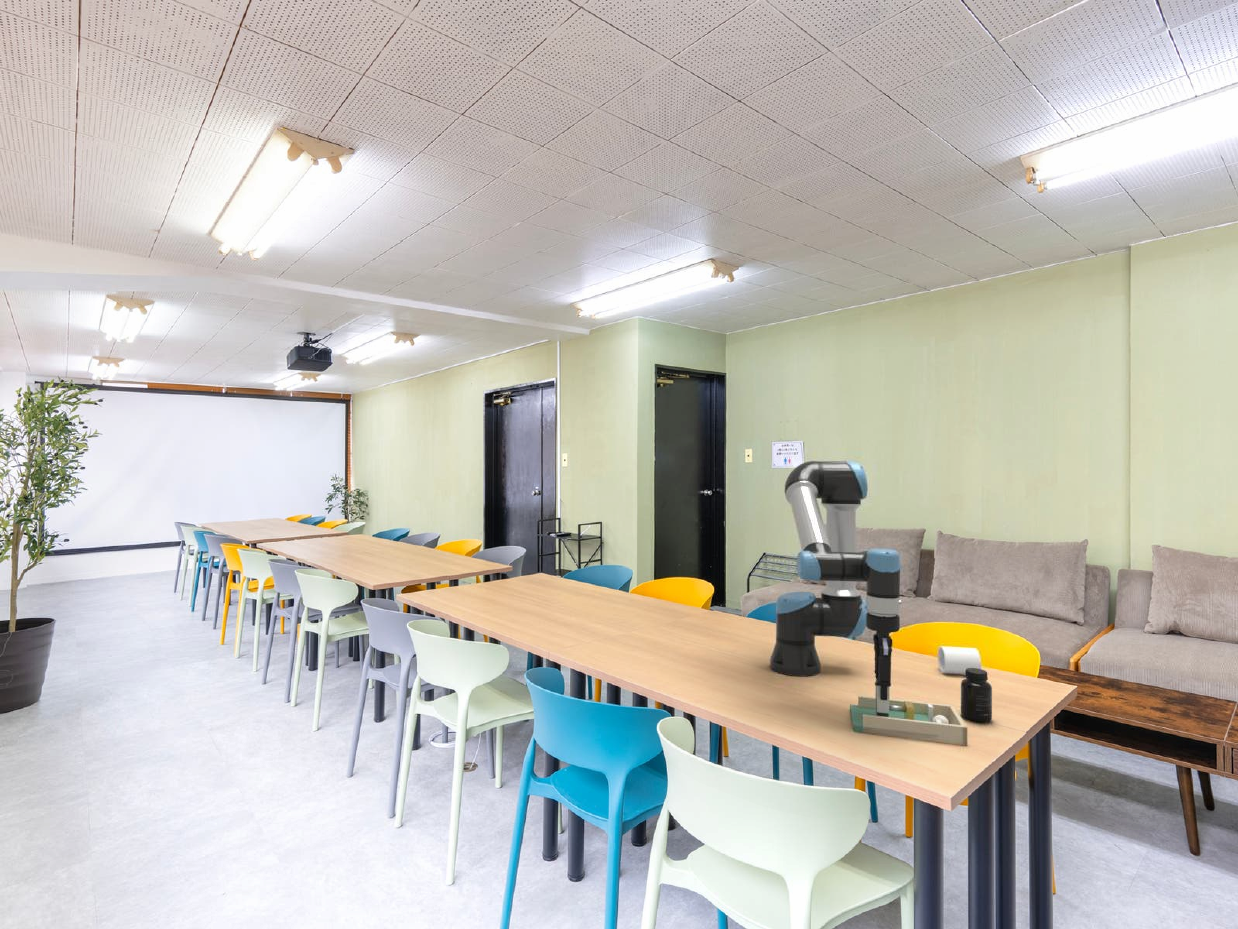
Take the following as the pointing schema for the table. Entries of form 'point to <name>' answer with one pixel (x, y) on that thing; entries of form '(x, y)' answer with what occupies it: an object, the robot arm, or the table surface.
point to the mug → (958, 659)
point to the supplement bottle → (976, 696)
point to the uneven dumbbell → (898, 708)
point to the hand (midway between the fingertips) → (882, 709)
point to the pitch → (910, 721)
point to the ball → (942, 718)
